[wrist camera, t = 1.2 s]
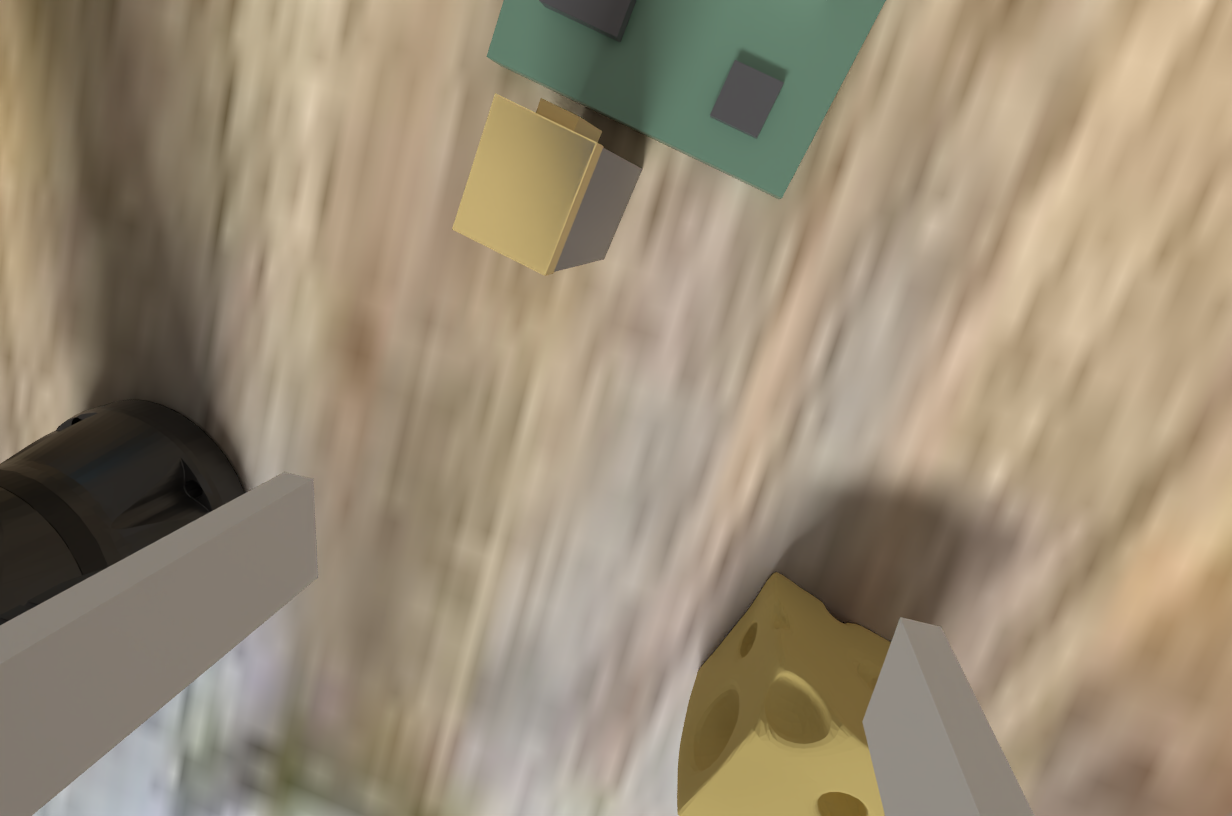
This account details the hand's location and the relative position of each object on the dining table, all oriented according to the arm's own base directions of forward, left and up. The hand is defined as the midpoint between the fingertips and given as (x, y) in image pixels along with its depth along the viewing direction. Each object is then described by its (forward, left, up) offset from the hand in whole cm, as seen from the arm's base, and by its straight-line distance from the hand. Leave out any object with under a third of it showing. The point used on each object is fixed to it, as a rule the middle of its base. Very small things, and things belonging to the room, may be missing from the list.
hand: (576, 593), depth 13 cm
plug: (-8, +6, -21) cm, 24 cm away
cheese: (+16, -14, -21) cm, 30 cm away
